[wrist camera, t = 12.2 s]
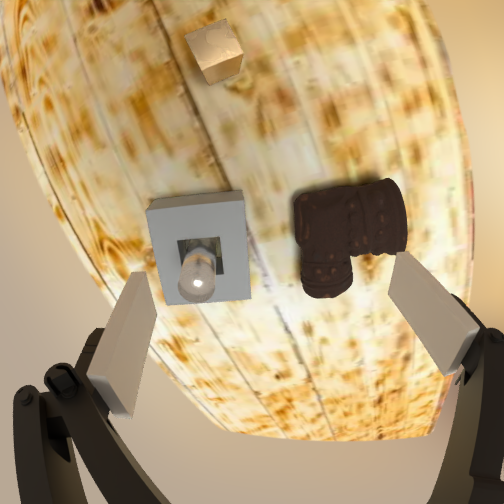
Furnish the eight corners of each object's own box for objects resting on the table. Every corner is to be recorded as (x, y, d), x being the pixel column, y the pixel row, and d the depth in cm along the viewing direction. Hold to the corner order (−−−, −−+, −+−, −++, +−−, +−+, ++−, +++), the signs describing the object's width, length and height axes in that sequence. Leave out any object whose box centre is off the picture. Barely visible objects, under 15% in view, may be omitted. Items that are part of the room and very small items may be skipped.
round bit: (187, 230, 40) (174, 273, 30) (215, 227, 41) (212, 269, 30) (191, 255, 42) (181, 304, 32) (218, 253, 42) (216, 301, 32)
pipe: (304, 311, 39) (407, 292, 36) (284, 205, 33) (406, 185, 30) (301, 276, 48) (388, 261, 45) (284, 187, 42) (382, 172, 39)
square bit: (196, 60, 30) (183, 35, 20) (226, 47, 30) (225, 18, 19) (209, 85, 32) (201, 70, 21) (238, 73, 32) (243, 53, 21)
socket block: (154, 199, 38) (145, 210, 34) (242, 190, 39) (244, 200, 34) (171, 286, 44) (166, 305, 40) (248, 280, 45) (251, 298, 40)
